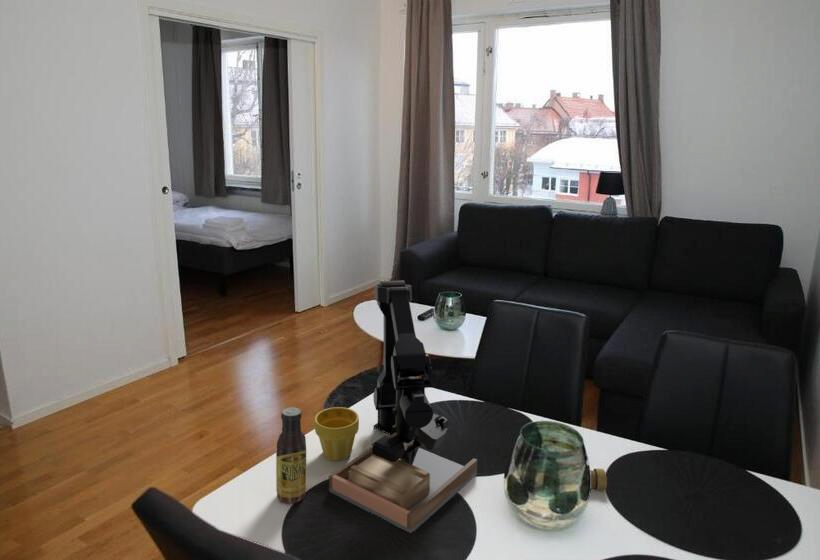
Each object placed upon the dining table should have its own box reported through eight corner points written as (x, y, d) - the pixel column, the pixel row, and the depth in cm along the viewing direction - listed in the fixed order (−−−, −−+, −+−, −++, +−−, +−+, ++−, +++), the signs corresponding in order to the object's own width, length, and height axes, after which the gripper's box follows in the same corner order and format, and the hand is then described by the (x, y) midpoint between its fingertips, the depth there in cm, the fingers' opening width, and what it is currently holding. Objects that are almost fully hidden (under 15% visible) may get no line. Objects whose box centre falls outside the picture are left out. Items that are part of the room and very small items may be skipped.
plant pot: (335, 471, 135) (335, 432, 133) (306, 454, 142) (305, 417, 139) (367, 452, 143) (367, 416, 140) (338, 437, 149) (338, 402, 147)
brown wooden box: (348, 489, 127) (348, 468, 125) (378, 468, 134) (378, 448, 133) (401, 515, 119) (401, 493, 117) (429, 492, 126) (430, 471, 125)
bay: (329, 491, 128) (328, 475, 127) (400, 443, 147) (400, 429, 146) (410, 533, 115) (411, 516, 114) (476, 475, 134) (477, 459, 133)
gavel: (545, 430, 149) (585, 432, 148) (544, 447, 150) (584, 449, 149) (561, 473, 128) (607, 475, 128) (559, 492, 129) (605, 494, 129)
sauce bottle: (281, 509, 122) (277, 421, 117) (273, 492, 127) (269, 408, 122) (311, 500, 125) (309, 415, 119) (302, 484, 130) (300, 402, 125)
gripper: (413, 434, 115) (412, 503, 119) (464, 399, 130) (461, 462, 134) (370, 417, 121) (370, 483, 126) (422, 386, 136) (421, 446, 140)
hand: (408, 468), depth 131 cm, fingers closed
